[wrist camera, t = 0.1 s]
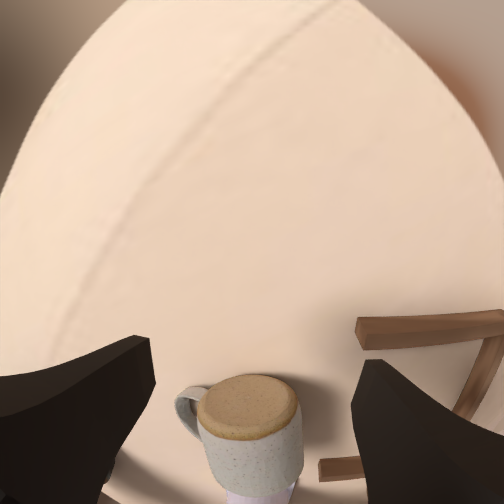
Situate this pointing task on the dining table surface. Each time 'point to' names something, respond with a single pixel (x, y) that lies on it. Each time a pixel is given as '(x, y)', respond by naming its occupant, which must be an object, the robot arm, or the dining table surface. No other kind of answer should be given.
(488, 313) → the walnut dock
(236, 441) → the ceramic mug
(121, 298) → the dining table surface
